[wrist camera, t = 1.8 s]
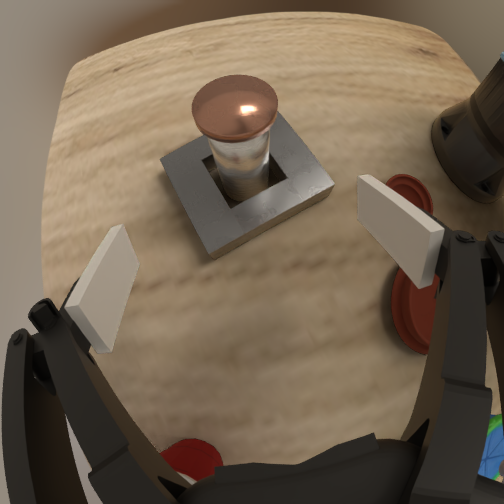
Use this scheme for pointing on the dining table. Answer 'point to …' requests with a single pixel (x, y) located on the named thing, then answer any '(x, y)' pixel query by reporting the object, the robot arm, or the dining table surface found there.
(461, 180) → the robot arm
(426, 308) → the pottery
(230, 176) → the silver copper-capped cylinder
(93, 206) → the dining table surface
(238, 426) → the dining table surface
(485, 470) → the snack cup
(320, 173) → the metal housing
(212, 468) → the plastic cup
